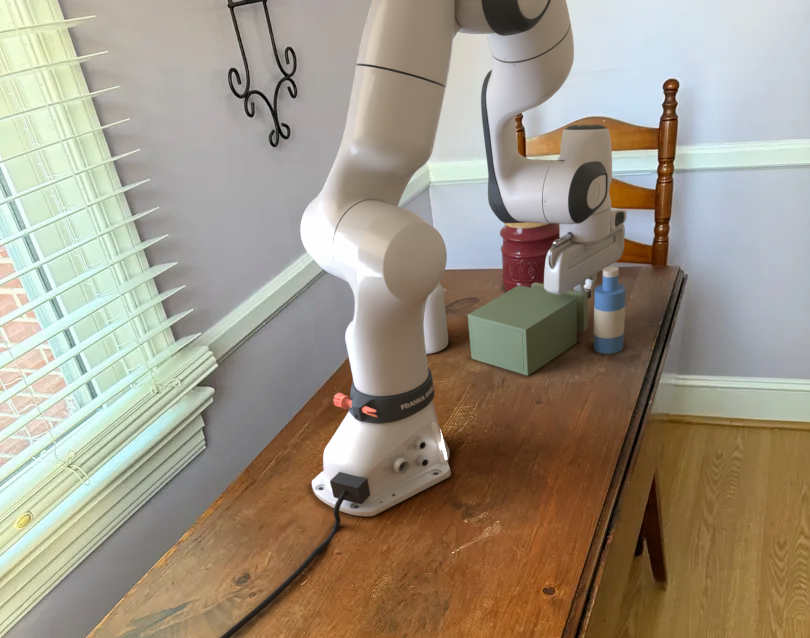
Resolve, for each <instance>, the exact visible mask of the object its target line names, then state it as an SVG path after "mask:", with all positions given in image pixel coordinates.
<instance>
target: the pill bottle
mask: <svg viewBox="0 0 810 638" xmlns="http://www.w3.org/2000/svg"><path fill="white" fill-rule="evenodd" d="M446 311H447V310H446V301H445V293H444V288H443V285H442V284H441V282H440V283H439V284H438V286H437V287H436V289H435V290H434V291H433V292H432V293H431V294H430V295H429V296H428V298H427V302H426V306H425V312H424V337H425V346H426V355H430V354H435V353H438V352H440V351H443V350H444V349H445V348H447V347H448V345H449V331H448V322H447V312H446Z"/></svg>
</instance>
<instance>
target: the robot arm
mask: <svg viewBox="0 0 810 638" xmlns="http://www.w3.org/2000/svg"><path fill="white" fill-rule="evenodd" d="M569 12H570V11H569V8H568V3H567V0H371V3H370V6H369V9H368V13H367V16H366V19H365V22H364V27H363V31H362V35H361V38H360V42H359V48H358V51H357V52H358V53H357V59H356V62H355V63H356V64H355V70H354V76H353V82H352V88H351V92H350V99H349V104H348V110H347V115H346V122H345V126H344V130H343V134H342V139H341V141H340V144H339V148H338V151H337V153H336V156H335V159H334V161H333V164H332V166H331V169H330V170H329V173H328V176H327V178H326V180H325V182H324V185H323V187H322V189H321V190H320V192H319V193H318V195H317V196H315V198H314V199H312V200H311V201H310V202H309V204H308V205H307V206H306V208H305V209H304V212H303V214H302V216H301V221H300V227H299V228H300V238H301V242H302V245H303V247H304V250H305V251H306V252H307V254H308V255H309V256H310V257H311V258H312V259H313V261H314V262H315V263H316V264H317V265H318V266H319V267H320V268H321V269H323V270H324V271H325V272H327V273H329V274H330V275H333V276H334V277H336V278H339V279H341V280H343V281H344V282H347V283H348V285H349V287H350V289H351V290H352V294H353V298H354V299H353V300H354V311H353V319H352V320H351V322H349V324H348V325H347V327H346V329H345V334H344V335H345V336H344V340H345V344H346V351H347V356H348V360H349V366H350V371H351V376H352V381H351V387H350V394H349V395H346V394H344V393H343V392H337V393H336V394H335V395H334V396H333V399H332V400H333V405H334V406H335V407H336V408H337V407H338V408H341V409H343V410H348V412H347V413H346V415H345V417H344V418H343V420H342V421H341V423H340V425H339V426H338V427H337V430H336V431H335V432H334V434H333V435H332V437H331V439H330V440H329V442H328V443H327V444H326V446H325V448H324V450H323V454H322V457H323V458H322V466H323V470H322V471H321V472H320V473H319V474H317V476H315V478H313V479H312V481H311V488H312V491H313V494H314V495H315V496H316V497H317V499H319V500H320V501H321V502H323V503H324V504H325V505H327V506H329V507H330V508H333V516H334V524H333V527H332V529H331V532H330V534H329V536H328V537H327V538H326V539H325V540H324V541H323V542H321V544H319V546H317V547H316V548H315V549H314V550H313V551H312V552H311V553H310V555H309V556H308V557H307V558H306V559H305V560H304V561H303V562H302V563H301V565H300V566H299V567H298V568H297V569H296V570H295V571H294V572H293V573H291V575H290V576H289V577H288V578H287V579H285V581H284V582H282V583H281V584H280V585H279V586H278V587H277V588H276V589H275V590H274V591H273V592H272V593H271V594H270V595H269V596H268V597H266V598H265V599H264V600H263V601H262V602H261V603H259V604H258V605H257V606H256V607H255V608H253V609H252V610H251V611H250V612H248V614H247V615H245V616H244V617H243V618H242V619H241V620H239V621H238V622H237V623H235V624H234V625H233V626H232V627H231V628H229V630H227V631H226V632H225V633H223V635H221V636H220V637H219V638H231V637H232V636H233V635H234V634H236V633H237V632H238V631H240V630H241V628H243V627H244V626H245V625H246V624H247V623H249V622H250V621H251V620H252V619H253V618H255V617H256V616H257V615H258V614H259V613H261V612H262V611H263V610H264V609H265V608H267V606H268V605H270V604H271V603H272V602H273V601H274V600H275V599H276V598H277V597H278V596H279V595H280V594H282V593H283V592H284V591H285V590H286V589H287V588H288V587H289V586H290V585H291V584H292V583H293V582H294V581H295V580H296V579H297V578H298V577H299V576H300V575H301V574H302V573H303V572H304V571H305V570H306V569H307V567H309V565H310V564H311V563H312V562H313V561H314V559H315V558H316V557H318V555H319V554H320V553H321V552H322V551H323V550H324V549H326V547H327V546H328V545H329V544H330V542H331V540H332V538H333V537H334V536H335V534H336V533H337V532H338V530H339V529H340V526H341V525H340V524H341V515H340V512H342V513H345V514H347V515H351V516H355V517H366V518H367V517H374V516H377V515H378V514H380V513H382V512H384V511H387V510H388V509H390V508H392V507H394V506H397V504H400V503H401V502H404V501H405V500H408V499H409V498H411V497H413V496H416V495H417V494H419V493H420V492H423V491H425V490H427V489H429V488H430V487H433V486H435V485H436V484H438V483H440V482H442V481H444V480H446V479H448V478H450V477H451V475H452V472H451V469H450V468H451V467H450V465H449V459H450V448H449V445H448V444H447V442H446V440H445V437H444V436H443V435H444V434H443V433H442V430H441V427H440V423H439V419H438V415H437V412H436V408H435V404H434V397H435V385H434V380H433V374H432V371H431V368H429V365H428V356H427V355H428V354H426V346H425V337H424V312H425V306H426V302H427V298H428V296H429V295H430V294H431V293H432V292H433V291H434V290H435V289H436V287H437V286H438V284H439V283H440V284H441V282H442V279H443V277H444V274H445V271H446V267H447V261H448V255H447V247H446V243H445V241H444V238H443V236H442V234H441V233H440V232H439V230H437V229H436V228H435V227H434V226H433V225H432V224H431V223H430V222H428V221H427V220H426V219H424V218H423V217H422V216H420V215H419V214H418V213H417V212H414V211H412V210H410V209H408V208H404V207H400V206H399V204H400V202H401V199H402V197H403V194H404V192H405V190H406V188H407V186H408V184H409V183H410V181H411V179H412V177H414V175H415V174H416V173H417V171H419V170H420V169H421V168H422V167H424V166H425V165H426V164H427V163H428V161H429V160H430V158H431V157H432V155H433V151H434V146H435V142H436V136H437V133H438V128H439V123H440V118H441V113H442V108H443V103H444V99H445V94H446V88H447V84H448V77H449V72H450V66H451V60H452V53H453V52H452V51H453V44H454V39H455V37H456V36H457V34H458V33H459V34H467V35H486V39H487V42H488V47H489V51H490V56H491V60H492V66H491V67H492V68H491V70H489V71H488V72H487V73H486V75H485V77H484V79H483V82H482V87H481V93H480V111H481V121H482V122H481V123H482V131H483V140H484V147H485V148H484V149H485V156H486V165H487V174H488V175H487V202H488V205H489V207H490V209H491V211H492V213H493V214H494V216H496V218H497V219H498V220H499V221H500V222H502V223H503V224H504V223H524V222H531V223H547V224H553V223H555V224H559V236H560V239H557V240H555V241H554V242H553V243H552V246H551V248H550V250H549V251H548V253H547V256H546V260H545V270H544V288H545V290H546V291H547V292H548V293H551V294H556V295H562V294H564V293H565V292H567V291H569V290H574V291H578V292H583V293H588V300H589V299H591V298H592V297H593V289H594V286H595V284H596V282H597V278H598V273H600V272H601V271H603V268H605V267H608V266H612V265H613V264H614V263H616V262H617V261H619V260H620V259H621V258H622V255H623V253H624V249H625V239H626V238H625V236H626V235H625V234H626V228H625V224H624V223H625V222H626V220H627V210H626V209H621V208H617V207H612V200H611V196H610V187H611V184H612V179H613V153H612V151H613V149H612V141H611V133H610V130H609V128H608V127H606V126H605V125H602V124H573V125H568V126H567V127H565V128H564V129H563V130H562V132H561V139H560V148H559V157H558V158H557V159H535V158H534V159H533V158H529V157H526V156H524V155H521V153H519V151H518V138H517V137H518V135H517V123H516V117H517V116H519V115H521V114H523V113H524V112H526V111H529V110H532V109H534V108H537V107H539V106H541V105H542V104H544V103H546V102H547V101H548V100H549V99H551V98H552V97H553V96H554V95H555V94H556V93H557V92H558V91H559V90H560V89H561V88H562V86H563V85H564V84H565V82H566V81H567V79H568V77H569V75H570V73H571V71H572V68H573V65H574V61H575V43H574V35H573V29H572V23H571V18H570V13H569Z"/></svg>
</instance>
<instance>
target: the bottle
mask: <svg viewBox="0 0 810 638" xmlns="http://www.w3.org/2000/svg"><path fill="white" fill-rule="evenodd" d="M619 271H620V269H619V267H618V266H615V265H609V266H608V267H605V268H603V270H602V284H599V285H597V286H596V287H595V288H594V306H593V350H594V351H595V352H596V353H599V354H603V355H611V354H616V353H619V352H621V351H622V350H623V349H624V338H625V337H624V336H625V323H626V321H625V320H626V292H627V291H626V289H627V288H626V286H625V285H624V284H621V283H619V274H620V273H619Z"/></svg>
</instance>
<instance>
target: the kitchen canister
mask: <svg viewBox="0 0 810 638" xmlns="http://www.w3.org/2000/svg"><path fill="white" fill-rule="evenodd" d="M503 224H504V226H503V227H501V229H500V231H499V236H500V237H501V238H502V245H501V246H500V252H501V263H502V276H501V278H502V283H503V288H504V290H505V291H506V292H508V291H509V290H511V289H513V288H515V287H516V286H518V285H521V286H525V287H530V288H532V286H531V285H532V284H533V283H535V282H536V283H541V284H544V270H545V260H546V256H547V253H548V251H549V250H550V248H551V246H552V243H553V242H554V241H555V240H557V239H560V236H559V224H555V223H553V224H547V223H531V222H524V223H503Z"/></svg>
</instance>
